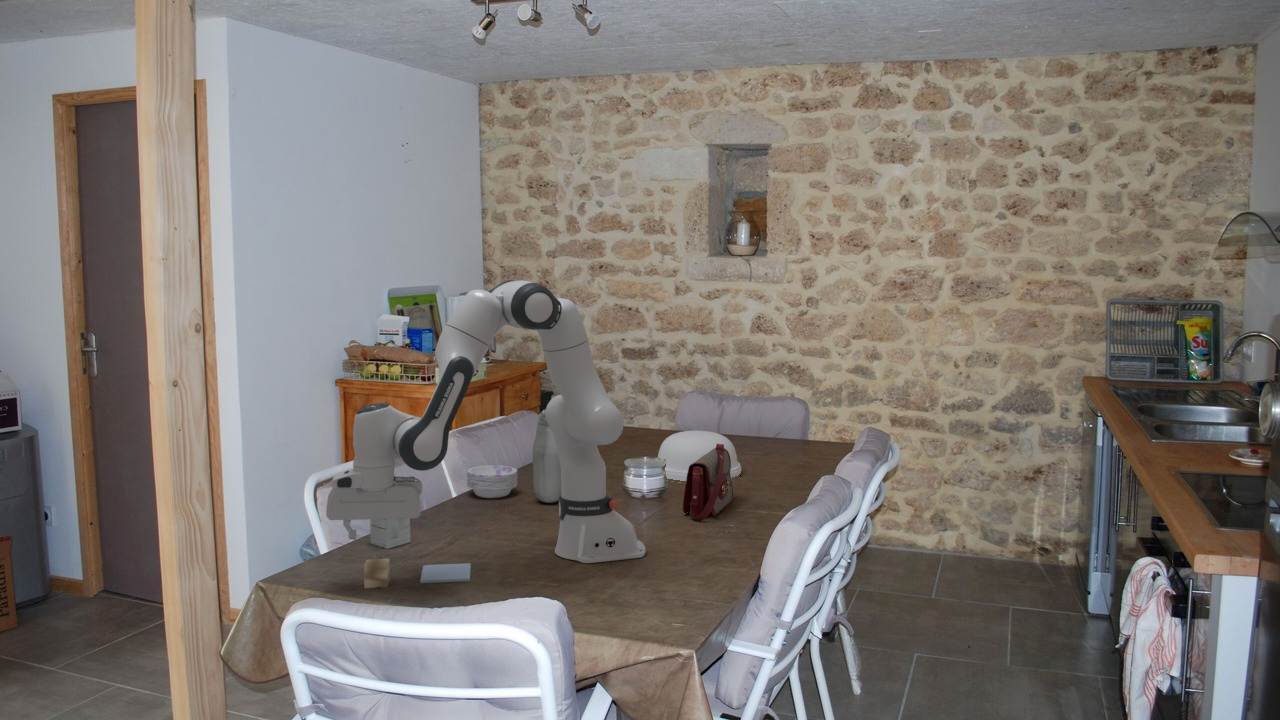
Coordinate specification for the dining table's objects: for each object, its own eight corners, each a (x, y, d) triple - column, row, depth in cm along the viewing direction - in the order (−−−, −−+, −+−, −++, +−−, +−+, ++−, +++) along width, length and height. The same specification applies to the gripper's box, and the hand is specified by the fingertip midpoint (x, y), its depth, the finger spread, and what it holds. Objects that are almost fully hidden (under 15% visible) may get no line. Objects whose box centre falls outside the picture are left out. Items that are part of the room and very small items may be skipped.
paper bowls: (522, 489, 308) (522, 464, 307) (511, 501, 293) (511, 475, 292) (474, 488, 310) (474, 463, 309) (461, 500, 295) (460, 474, 294)
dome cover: (637, 467, 341) (637, 427, 339) (714, 460, 353) (714, 422, 351) (677, 488, 312) (678, 444, 310) (759, 480, 324) (760, 438, 322)
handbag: (713, 524, 271) (714, 462, 269) (676, 520, 274) (677, 459, 272) (738, 500, 297) (739, 443, 295) (705, 497, 300) (705, 441, 298)
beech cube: (389, 580, 224) (389, 558, 223) (387, 587, 219) (387, 565, 218) (367, 581, 223) (366, 559, 222) (364, 588, 218) (363, 566, 217)
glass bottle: (562, 507, 287) (562, 412, 284) (528, 505, 289) (528, 410, 286) (571, 498, 297) (571, 406, 294) (539, 496, 299) (538, 405, 296)
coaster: (470, 565, 234) (470, 563, 234) (470, 581, 223) (470, 578, 223) (423, 567, 232) (423, 565, 232) (420, 583, 221) (420, 580, 221)
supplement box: (393, 537, 256) (392, 489, 255) (411, 542, 252) (410, 494, 250) (369, 543, 251) (368, 495, 249) (387, 549, 246) (386, 499, 245)
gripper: (422, 473, 223) (423, 533, 224) (329, 474, 220) (329, 535, 221) (421, 479, 217) (421, 540, 218) (324, 480, 213) (325, 543, 215)
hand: (374, 538), depth 219 cm, fingers open, 8 cm apart
